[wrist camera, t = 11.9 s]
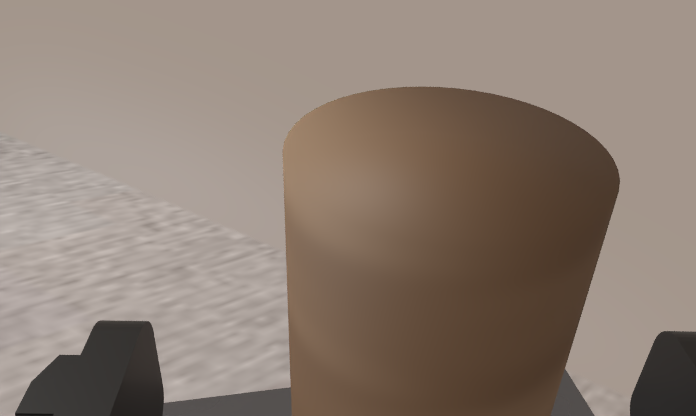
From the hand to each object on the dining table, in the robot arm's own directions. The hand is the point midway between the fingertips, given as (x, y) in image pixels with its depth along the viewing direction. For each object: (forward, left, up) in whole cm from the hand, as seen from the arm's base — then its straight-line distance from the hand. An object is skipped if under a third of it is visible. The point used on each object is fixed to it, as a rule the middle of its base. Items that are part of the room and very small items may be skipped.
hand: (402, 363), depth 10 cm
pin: (0, +2, -11) cm, 11 cm away
